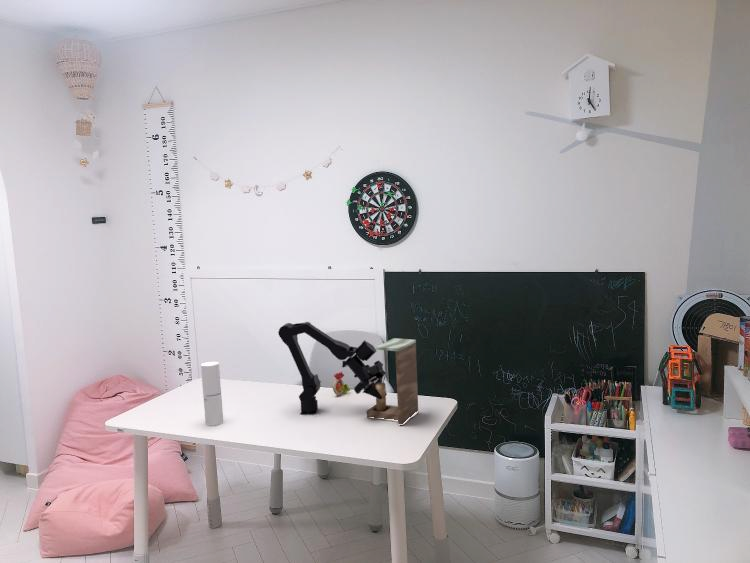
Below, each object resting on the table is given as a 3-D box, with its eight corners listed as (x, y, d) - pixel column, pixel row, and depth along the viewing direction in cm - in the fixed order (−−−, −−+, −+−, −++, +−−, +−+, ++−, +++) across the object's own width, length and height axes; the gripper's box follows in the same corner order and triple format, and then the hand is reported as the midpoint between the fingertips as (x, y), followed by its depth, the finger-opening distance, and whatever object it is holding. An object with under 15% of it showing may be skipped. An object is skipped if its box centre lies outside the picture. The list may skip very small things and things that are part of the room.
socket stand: (362, 420, 244) (359, 345, 240) (380, 408, 258) (377, 337, 254) (401, 426, 236) (398, 348, 232) (418, 413, 250) (415, 339, 246)
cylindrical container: (218, 426, 245) (213, 366, 242) (202, 425, 246) (197, 366, 243) (226, 420, 252) (221, 361, 249) (210, 419, 253) (205, 361, 250)
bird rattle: (344, 401, 276) (352, 388, 283) (338, 382, 271) (346, 369, 277) (332, 399, 279) (341, 387, 285) (326, 381, 273) (335, 368, 280)
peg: (376, 414, 247) (375, 385, 245) (376, 410, 251) (375, 382, 249) (386, 413, 247) (385, 385, 245) (386, 410, 251) (385, 382, 249)
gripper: (359, 361, 239) (385, 391, 236) (380, 350, 256) (405, 378, 252) (343, 379, 244) (368, 408, 240) (365, 367, 260) (389, 394, 257)
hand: (383, 397), depth 247 cm, fingers closed on peg, 4 cm apart
